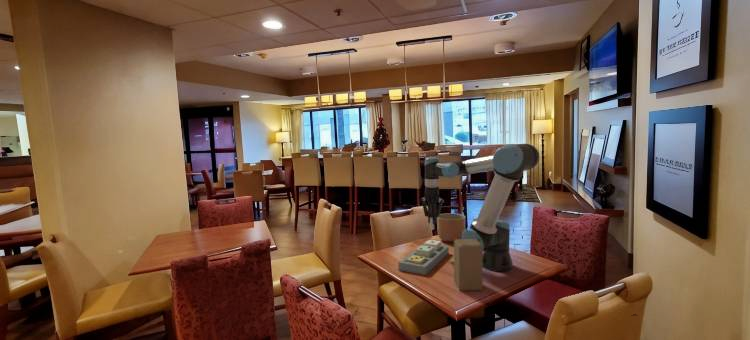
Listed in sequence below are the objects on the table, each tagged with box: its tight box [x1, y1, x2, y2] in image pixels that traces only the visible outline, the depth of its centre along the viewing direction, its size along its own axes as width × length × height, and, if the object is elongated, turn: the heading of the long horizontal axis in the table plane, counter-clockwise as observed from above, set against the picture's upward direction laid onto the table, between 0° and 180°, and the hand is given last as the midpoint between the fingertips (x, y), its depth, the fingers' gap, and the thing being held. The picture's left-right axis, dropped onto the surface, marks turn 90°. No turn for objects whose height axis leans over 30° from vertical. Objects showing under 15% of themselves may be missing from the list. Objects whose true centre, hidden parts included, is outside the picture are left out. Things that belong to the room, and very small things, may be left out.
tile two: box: [415, 244, 434, 257], centre depth 187 cm, size 7×7×4 cm
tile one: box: [423, 239, 442, 251], centre depth 197 cm, size 7×7×4 cm
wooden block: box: [453, 239, 484, 292], centre depth 156 cm, size 10×10×20 cm
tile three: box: [407, 255, 426, 265], centre depth 178 cm, size 7×7×4 cm
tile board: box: [398, 243, 449, 276], centre depth 188 cm, size 14×34×4 cm, turn 150°
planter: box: [436, 212, 466, 244], centre depth 221 cm, size 17×17×15 cm
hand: (432, 229), depth 195 cm, fingers closed
